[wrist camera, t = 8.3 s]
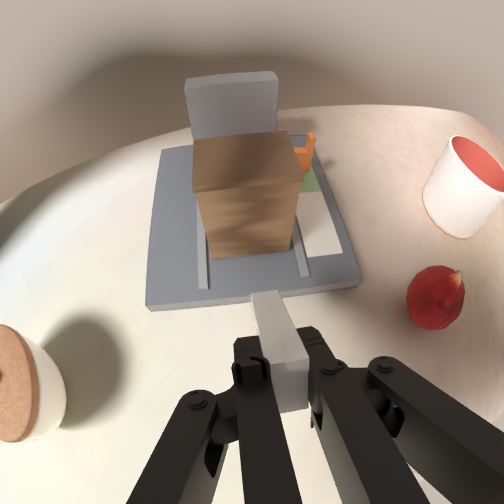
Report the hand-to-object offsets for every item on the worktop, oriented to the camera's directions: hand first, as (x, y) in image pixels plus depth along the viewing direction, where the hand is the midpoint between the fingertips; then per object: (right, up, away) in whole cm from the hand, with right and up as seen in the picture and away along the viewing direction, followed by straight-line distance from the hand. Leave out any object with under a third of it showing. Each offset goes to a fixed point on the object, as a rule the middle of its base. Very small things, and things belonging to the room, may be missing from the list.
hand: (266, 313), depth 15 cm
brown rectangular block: (-1, +5, +11) cm, 12 cm away
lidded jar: (-22, -11, +4) cm, 25 cm away
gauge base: (-2, +8, +15) cm, 17 cm away
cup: (+26, +9, +15) cm, 32 cm away
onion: (+16, -3, +9) cm, 18 cm away
